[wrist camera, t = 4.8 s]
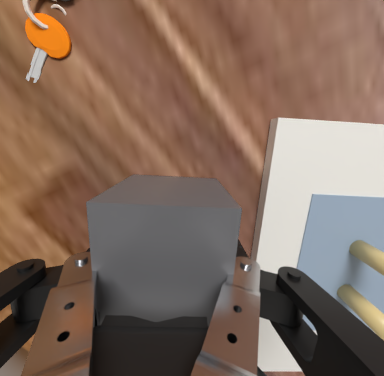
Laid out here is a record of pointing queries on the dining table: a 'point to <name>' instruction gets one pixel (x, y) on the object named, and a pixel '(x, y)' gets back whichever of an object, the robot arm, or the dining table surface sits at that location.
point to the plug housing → (162, 246)
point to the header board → (323, 219)
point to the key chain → (45, 38)
